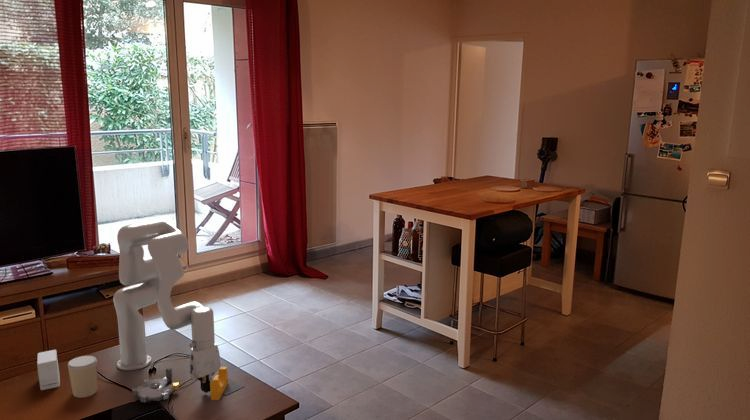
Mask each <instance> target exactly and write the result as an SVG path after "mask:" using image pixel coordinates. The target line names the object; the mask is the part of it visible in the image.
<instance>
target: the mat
mask: <svg viewBox="0 0 750 420" xmlns="http://www.w3.org/2000/svg"><path fill="white" fill-rule="evenodd" d="M243 388H245V386H244V385H242V384H241V383H239V382H236V381H234V380H233V379H231V378H228V384H227V386H226V388H225V390H224V391H223V393H222V395H225V396H228V395H230V394H232V393H234V392H236V391H238V390H241V389H243Z"/></svg>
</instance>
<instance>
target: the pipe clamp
mask: <svg viewBox="0 0 750 420" xmlns="http://www.w3.org/2000/svg"><path fill="white" fill-rule="evenodd" d="M228 372H229V371H228V366H221V367H220V369H219V370H218V374H216V375H215V376H213V378H212V380H211V381H210V399H211V401H219V400H220V398H221V397H222V395H223V391H224V390H225V388H226V386H227V384H228V379H229V375H228Z"/></svg>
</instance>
